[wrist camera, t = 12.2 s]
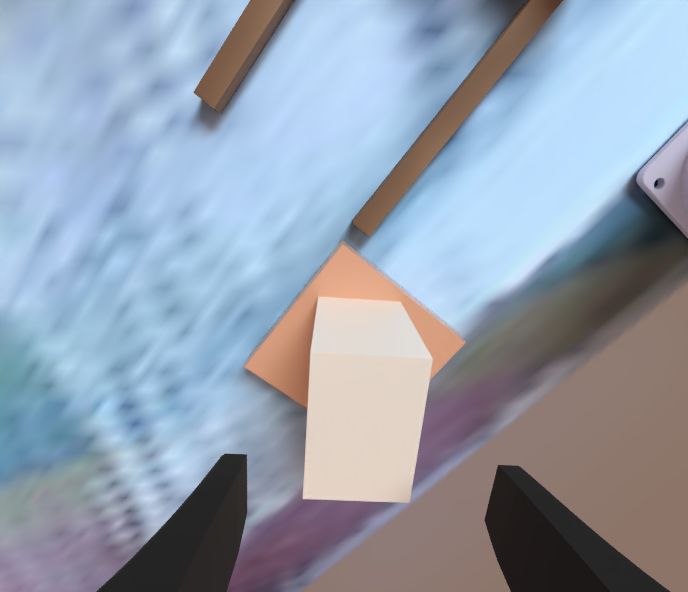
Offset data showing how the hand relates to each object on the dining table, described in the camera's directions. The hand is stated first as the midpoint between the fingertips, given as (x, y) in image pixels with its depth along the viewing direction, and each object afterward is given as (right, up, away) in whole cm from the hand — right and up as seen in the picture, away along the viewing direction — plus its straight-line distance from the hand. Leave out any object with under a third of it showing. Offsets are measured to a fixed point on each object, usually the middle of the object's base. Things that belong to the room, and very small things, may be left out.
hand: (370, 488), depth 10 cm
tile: (0, +3, +9) cm, 10 cm away
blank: (0, +3, +8) cm, 8 cm away
